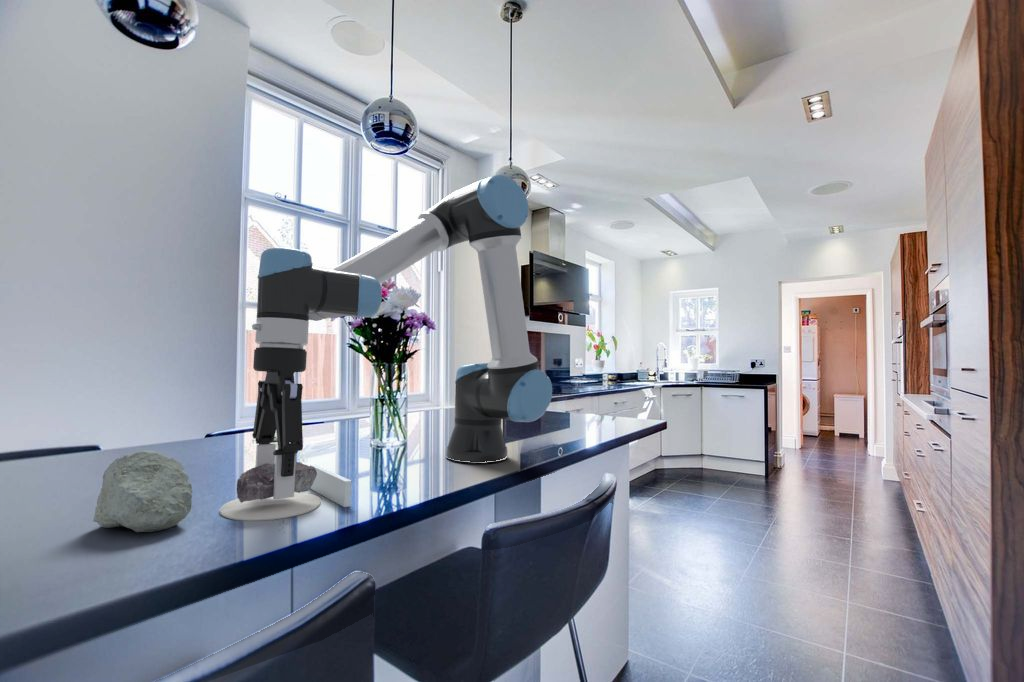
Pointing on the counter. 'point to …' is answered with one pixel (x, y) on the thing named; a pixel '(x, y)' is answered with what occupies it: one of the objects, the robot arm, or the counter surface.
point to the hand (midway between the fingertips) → (273, 490)
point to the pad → (270, 507)
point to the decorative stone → (144, 493)
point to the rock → (271, 481)
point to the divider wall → (332, 486)
